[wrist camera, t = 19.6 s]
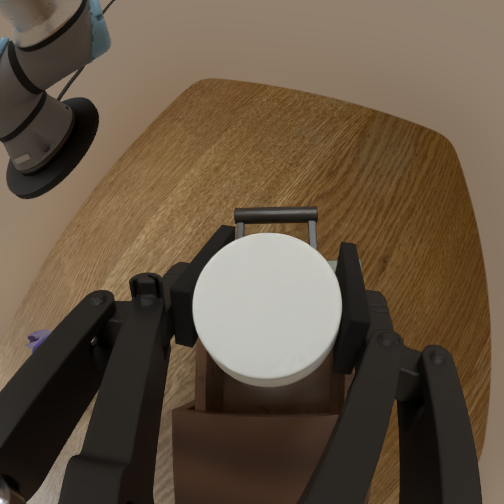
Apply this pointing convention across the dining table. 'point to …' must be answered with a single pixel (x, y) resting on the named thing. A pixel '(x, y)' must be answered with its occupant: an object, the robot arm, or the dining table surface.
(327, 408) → the drawer
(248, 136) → the dining table surface
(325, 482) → the robot arm
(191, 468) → the cabinet
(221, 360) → the pill bottle
